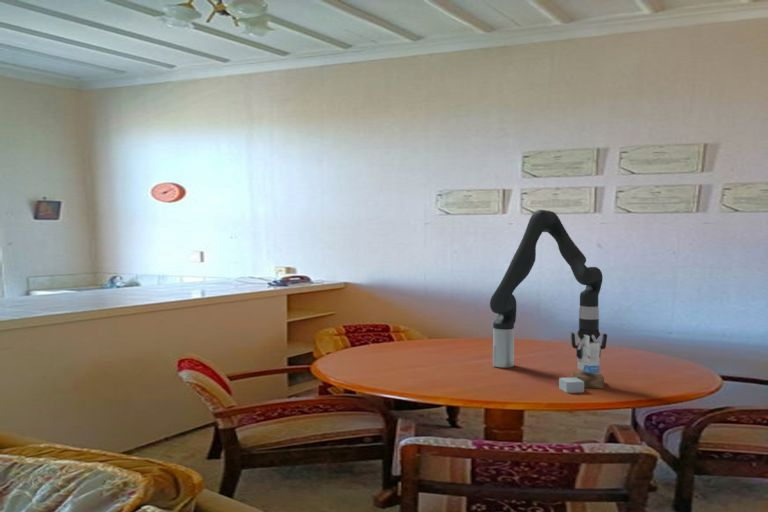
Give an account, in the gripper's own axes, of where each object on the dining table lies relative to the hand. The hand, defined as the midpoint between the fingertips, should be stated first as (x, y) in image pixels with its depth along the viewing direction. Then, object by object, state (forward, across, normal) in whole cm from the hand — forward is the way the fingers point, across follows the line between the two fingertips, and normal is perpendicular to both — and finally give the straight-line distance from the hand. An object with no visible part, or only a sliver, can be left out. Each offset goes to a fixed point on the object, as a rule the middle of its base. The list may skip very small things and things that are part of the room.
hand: (588, 358), depth 243 cm
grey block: (+10, -8, -10) cm, 16 cm away
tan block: (+10, 0, 0) cm, 10 cm away
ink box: (+5, 0, 0) cm, 5 cm away
